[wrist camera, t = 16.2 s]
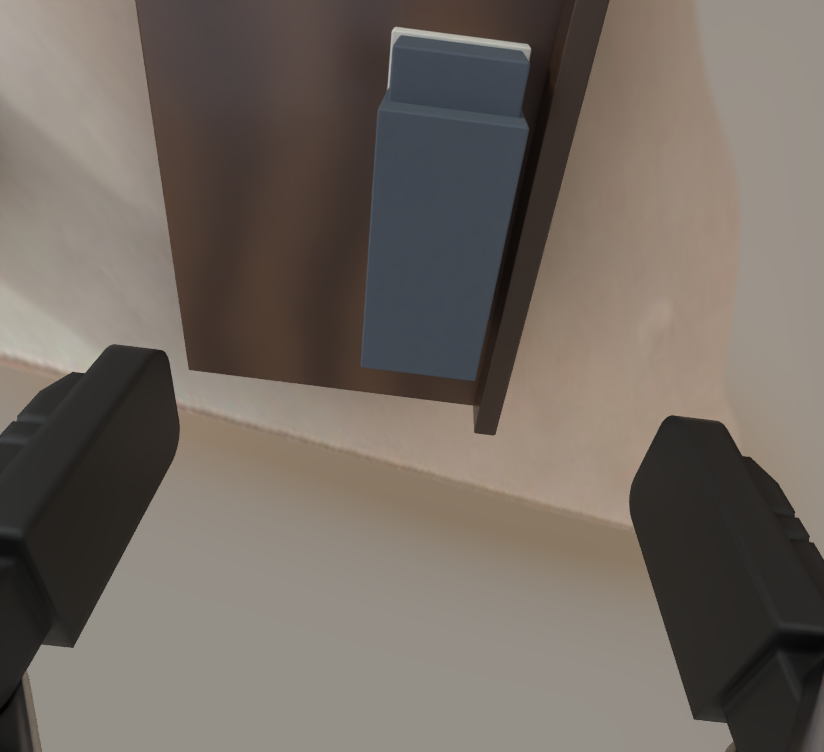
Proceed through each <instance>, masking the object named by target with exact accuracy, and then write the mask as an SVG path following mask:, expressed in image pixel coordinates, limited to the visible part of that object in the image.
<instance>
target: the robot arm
mask: <svg viewBox="0 0 824 752" xmlns="http://www.w3.org/2000/svg"><path fill="white" fill-rule="evenodd" d="M17 417H18V418H17V421H16V422H15V421H13V422H12V423H11V424H10V425H9V426H8V427H7V428H6V429H5V430H4V431H3V433H2V434H1V435H0V752H42V748H41V742H40V737H39V732H38V725H37V719H36V714H35V708H34V703H33V696H32V691H31V685H30V679H29V676H28V673H27V671H26V670H27V668H28V666H29V665H30V663H31V661H32V660H33V658H34V656H35V654H36V653H37V651H38V649H39V647H40V646H41V644H43V645H52V646H61V647H71V648H73V647H74V645H75V643H76V641H77V640H78V638H79V636H80V634H81V632H82V630H83V628H84V626H85V625H86V623H87V621H88V619H89V617H90V615H91V613H92V611H93V609H94V608H95V605H96V604H97V601H98V600H99V598H100V596H101V594H102V593H103V591H104V589H105V587H106V585H107V583H108V581H109V579H110V577H111V576H112V574H113V572H114V570H115V568H116V566H117V564H118V562H119V561H120V559H121V557H122V555H123V553H124V551H125V549H126V547H127V545H128V544H129V542H130V540H131V538H132V536H133V534H134V532H135V530H136V529H137V526H138V525H139V523H140V521H141V519H142V517H143V515H144V514H145V512H146V510H147V508H148V506H149V504H150V502H151V500H152V499H153V497H154V495H155V493H156V491H157V489H158V487H159V485H160V484H161V481H162V480H163V478H164V476H165V474H166V472H167V470H168V468H169V467H170V465H171V463H172V461H173V458H174V456H175V453H176V450H177V446H178V441H179V432H180V427H179V426H180V425H179V417H178V411H177V405H176V399H175V393H174V387H173V381H172V375H171V369H170V363H169V359H168V356H167V355H166V353H165V352H164V351H162V350H156V349H148V348H140V347H132V346H124V345H116V344H113V345H110V346H109V347H107V348H106V349H105V350H104V351H103V353H102V354H101V355H100V356H99V357H98V359H97V360H96V361H95V362H94V363H93V364H92V366H91V367H90V368H89V369H88V370H87V372H86V373H77V372H72V373H70V374H68V375H67V376H65V377H63V378H62V379H60V380H58V381H56V382H55V383H53V384H51V385H50V386H48V387H46V388H45V389H43V390H41V391H40V392H39V393H38V394H37V395H36V396H35V397H34V398H33V399H32V401H31V402H30V403H29V404H28V405H27V406H26V407H25V408H24V409H23V410H22V412H21V413H20V414H19V415H18V416H17ZM629 506H630V514H631V519H632V522H633V525H634V528H635V532H636V535H637V538H638V541H639V544H640V547H641V551H642V554H643V557H644V560H645V564H646V566H647V570H648V573H649V577H650V580H651V583H652V586H653V589H654V593H655V596H656V599H657V602H658V605H659V609H660V612H661V615H662V618H663V621H664V625H665V628H666V631H667V634H668V638H669V641H670V644H671V647H672V650H673V654H674V657H675V660H676V663H677V666H678V669H679V673H680V676H681V679H682V682H683V685H684V689H685V692H686V695H687V699H688V702H689V705H690V708H691V711H692V715H693V718H694V719H695V720H704V721H713V722H722V723H727V724H728V727H729V729H730V733H731V735H732V738H733V741H734V742H732V743H731V744H730V745H729V747H728V748H727V749H726V751H725V752H824V559H823V558H822V556H821V555H820V553H819V551H818V549H817V548H816V546H815V544H814V543H811V542H809V537H810V536H809V534H808V533H807V531H806V529H805V528H804V526H803V524H802V523H801V521H800V519H799V518H795V515H794V514H795V511H794V509H793V508H792V506H791V504H790V503H789V501H788V499H787V498H786V496H785V494H784V493H783V491H782V489H781V488H780V486H779V484H778V483H777V482H776V481H775V480H774V479H773V478H772V477H771V476H770V475H768V473H766V472H765V471H764V470H763V469H762V468H761V467H760V466H759V465H758V464H757V463H756V462H755V461H754V460H752V458H751V457H745V456H742V455H741V453H740V451H739V449H738V448H737V446H736V444H735V442H734V440H733V439H732V437H731V435H730V433H729V432H728V430H727V428H726V427H725V425H723V424H722V423H721V422H719V421H713V420H705V419H697V418H689V417H681V416H673V415H672V416H669V417H667V418H666V419H665V420H664V421H663V422H662V424H661V426H660V427H659V429H658V431H657V433H656V435H655V437H654V439H653V441H652V443H651V445H650V447H649V449H648V451H647V453H646V455H645V457H644V459H643V461H642V463H641V465H640V467H639V469H638V471H637V473H636V475H635V477H634V480H633V482H632V485H631V490H630V498H629Z"/></svg>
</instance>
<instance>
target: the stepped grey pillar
mask: <svg viewBox="0 0 824 752" xmlns="http://www.w3.org/2000/svg"><path fill="white" fill-rule="evenodd" d="M530 54H531V48H530V46H529V45H528V44H523V43H516V42H508V41H500V40H493V39H485V38H477V37H470V36H462V35H454V34H447V33H439V32H431V31H424V30H416V29H409V28H401V27H395V28H394V29H393V30H392V35H391V48H390V62H389V75H388V88H387V92H386V94H385V96H384V98H383V100H382V102H381V104H380V106H379V108H378V113H377V128H376V143H375V158H374V173H373V188H372V203H371V218H370V233H369V248H368V263H367V278H366V293H365V308H364V323H363V338H362V353H361V367H363V368H371V369H379V370H387V371H395V372H403V373H412V374H420V375H428V376H436V377H444V378H452V379H460V380H468V381H475V380H476V376H477V371H478V366H479V362H480V357H481V352H482V348H483V343H484V338H485V334H486V329H487V324H488V320H489V315H490V310H491V306H492V301H493V296H494V292H495V287H496V282H497V278H498V273H499V268H500V264H501V259H502V254H503V250H504V245H505V240H506V236H507V231H508V226H509V222H510V217H511V212H512V208H513V203H514V198H515V194H516V189H517V185H518V180H519V175H520V171H521V166H522V161H523V157H524V152H525V147H526V143H527V138H528V133H529V127H528V124H527V122H526V119H525V117H524V114H523V112H522V109H521V108H522V103H523V98H524V93H525V88H526V83H527V78H528V73H529V68H530V62H529V59H530Z"/></svg>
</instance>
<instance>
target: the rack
mask: <svg viewBox="0 0 824 752" xmlns="http://www.w3.org/2000/svg"><path fill="white" fill-rule="evenodd" d="M135 2H136V9H137V16H138V23H139V29H140V36H141V43H142V50H143V57H144V64H145V71H146V78H147V85H148V91H149V98H150V105H151V112H152V119H153V126H154V133H155V140H156V146H157V153H158V160H159V167H160V174H161V181H162V188H163V195H164V201H165V208H166V215H167V222H168V229H169V236H170V243H171V250H172V256H173V263H174V270H175V277H176V284H177V291H178V298H179V305H180V312H181V318H182V325H183V332H184V339H185V346H186V353H187V360H188V367H189V370H194V371H202V372H210V373H218V374H226V375H234V376H242V377H250V378H258V379H266V380H274V381H282V382H290V383H298V384H306V385H314V386H322V387H330V388H338V389H346V390H354V391H362V392H370V393H378V394H386V395H394V396H402V397H410V398H417V399H425V400H433V401H441V402H449V403H457V404H465V405H473V413H474V433H479V434H487V435H495V434H496V430H497V427H498V423H499V419H500V415H501V411H502V407H503V404H504V400H505V396H506V392H507V388H508V385H509V381H510V377H511V373H512V369H513V366H514V362H515V358H516V354H517V350H518V347H519V343H520V339H521V335H522V331H523V327H524V324H525V320H526V316H527V312H528V308H529V305H530V301H531V297H532V293H533V289H534V286H535V282H536V278H537V274H538V270H539V267H540V263H541V259H542V255H543V251H544V247H545V244H546V240H547V236H548V232H549V228H550V225H551V221H552V217H553V213H554V209H555V206H556V202H557V198H558V194H559V190H560V187H561V183H562V179H563V175H564V171H565V167H566V164H567V160H568V156H569V152H570V148H571V145H572V141H573V137H574V133H575V129H576V126H577V122H578V118H579V114H580V110H581V107H582V103H583V99H584V95H585V91H586V87H587V84H588V80H589V76H590V72H591V68H592V65H593V61H594V57H595V53H596V49H597V46H598V42H599V38H600V34H601V30H602V26H603V23H604V19H605V15H606V11H607V7H608V4H609V0H135ZM395 27H401V28H409V29H416V30H424V31H431V32H439V33H447V34H454V35H462V36H470V37H477V38H485V39H493V40H500V41H508V42H516V43H523V44H528V45H529V46H530V48H531V54H530V59H529V62H530V68H529V73H528V78H527V83H526V88H525V93H524V98H523V103H522V108H521V109H522V112H523V114H524V117H525V119H526V122H527V124H528V127H529V133H528V138H527V143H526V147H525V152H524V157H523V161H522V166H521V171H520V175H519V180H518V185H517V189H516V194H515V198H514V203H513V208H512V212H511V217H510V222H509V226H508V231H507V236H506V240H505V245H504V250H503V254H502V259H501V264H500V268H499V273H498V278H497V282H496V287H495V292H494V296H493V301H492V306H491V310H490V315H489V320H488V324H487V329H486V334H485V338H484V343H483V348H482V352H481V357H480V362H479V366H478V371H477V376H476V380H475V381H468V380H460V379H452V378H444V377H436V376H428V375H420V374H412V373H403V372H395V371H387V370H379V369H371V368H363V367H361V353H362V338H363V323H364V308H365V293H366V278H367V263H368V248H369V233H370V218H371V203H372V188H373V173H374V158H375V143H376V128H377V113H378V108H379V106H380V104H381V102H382V100H383V98H384V96H385V94H386V92H387V88H388V75H389V62H390V48H391V35H392V30H393V29H394V28H395Z"/></svg>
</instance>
